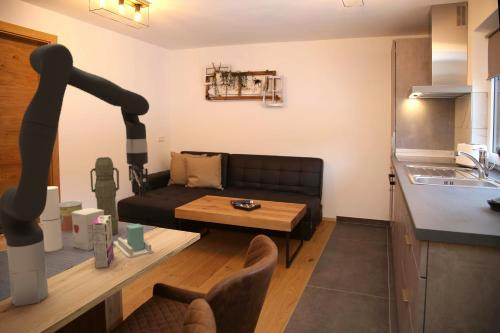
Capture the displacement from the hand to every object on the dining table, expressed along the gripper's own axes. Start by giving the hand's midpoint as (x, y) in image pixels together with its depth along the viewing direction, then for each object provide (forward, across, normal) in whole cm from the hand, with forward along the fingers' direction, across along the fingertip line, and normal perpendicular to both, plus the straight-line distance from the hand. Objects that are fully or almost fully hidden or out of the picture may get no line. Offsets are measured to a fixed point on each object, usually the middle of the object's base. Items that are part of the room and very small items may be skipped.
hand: (138, 194), depth 138 cm
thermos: (+24, +35, +3) cm, 43 cm away
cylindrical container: (+24, +29, +26) cm, 46 cm away
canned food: (+24, +55, +15) cm, 62 cm away
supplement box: (+24, +24, +14) cm, 37 cm away
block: (+23, +7, 0) cm, 24 cm away
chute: (+24, +11, 0) cm, 26 cm away
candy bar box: (+24, +2, +13) cm, 28 cm away
